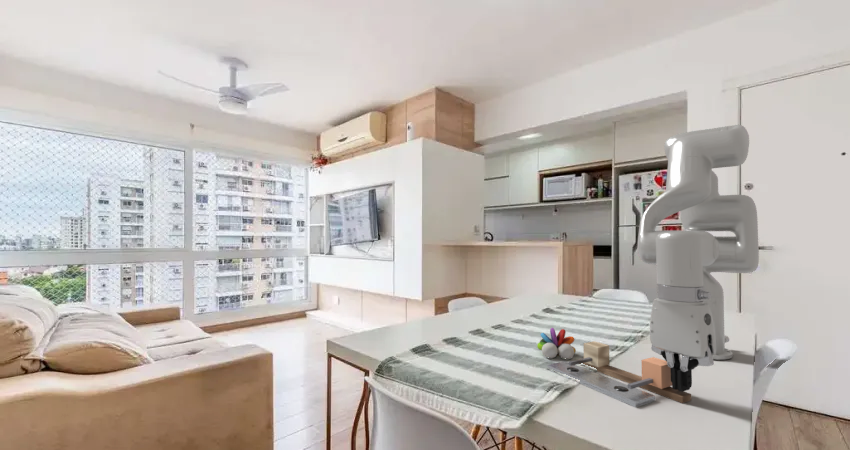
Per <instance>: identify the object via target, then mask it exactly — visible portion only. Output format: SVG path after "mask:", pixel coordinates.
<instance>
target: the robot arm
mask: <svg viewBox="0 0 850 450" xmlns="http://www.w3.org/2000/svg"><path fill="white" fill-rule="evenodd" d="M749 148H750V135H749V132H748V130H747V128H746V127H745V126H744V125H741V124H735V125H727V126H720V127H719V126H718V127H713V128H709V129H707V128H706V129H699V130H692V131H688V132H687V131H686V132H682V133H677V134H674V135H672V136H670V137H668V138H667V139H666V140H665V142H664V145H663V149H664V154H665V157H666V159H667V171H666V183H665V190H664V191H663V192H662V193H661V194H659V196H657V197H656V198H655V199H654V200H652V202H651V203H650V204H649V205H648V207H646V208H645V211H644V212H643V213H642V216H641V218H640V222H639V227H638V228H639V229H638V234H637V235H638V236H637V254H638V257H639V258H640V260H641V261H642V262H644V263H645V264H649V265H654V266H655V265H656V267H655V268H656V269H655V270H656V298H654V299H653V301H652V302H653V303H652V306H651V312H650V320H649V341H650V344H651V348H650V349H651V351H652V352H654V353H655V354H658V355H660V356H662V358H663V360H665V361H667V365H668V366H669V367H670V368H671V382H672V386H671V387H672V388H673V389H675V390H678V391H681V392H683V391H684V392H687V391H689V390H690V389H691V388H692V384H693V380H692V378H693V376H692V374H693V372H692V371H693V370H694V369H696V368H697V367H698V366H699V367H700V366H701V367H711V366H713V365H714V363H715V362H714V360H717V361H718V360H720V361H721V360H729V359H733V356H734V355H733V351H731V350H730V349H729V348H726V345H725V343H729V342H730V338H729V336H728V335H725V307H724V306H725V302H724V301H725V300H724V289H723V286H722V285H721V283H720V282H719V281H718V280H717V279H716V278H715V277H714V276H713V275H712V273H728V274H729V273H731V274H751V273H753V272H755V271H756V270H757V268H759V267H758V266H759V262H760V261H759V260H760V259H759V257H760V256H759V255H760V254H759V253H760V250H759V229H758V228H759V226H758V225H759V224H758V222H759V221H758V211H757V205H756V203H755V201H754V199H753V198H752V197H751V196H749V195H746V194H727V195H726V194H724V195H723V194H722V195H721V194H720V193H719V178H718V177H719V176H718V175H717V174H716V173H715V171H714V170H712V169H721V168H730V167H732V168H733V167H738V166H741V165H743V164H745V162H746V160H747V157H748V155H749ZM677 213H680V221H681V225H682V227H683V228H684V229H685V230H680V229H679V230H656V229H657V227H658V225H659V224H660V223H661V222H662V221H663V220H665V219H667V218H668V217H670V216H672V215H674V214H677ZM710 232H730V233H733V234H734V235H735V236H716V235H715V236H714V235H713V234H712V233H710Z"/></svg>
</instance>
